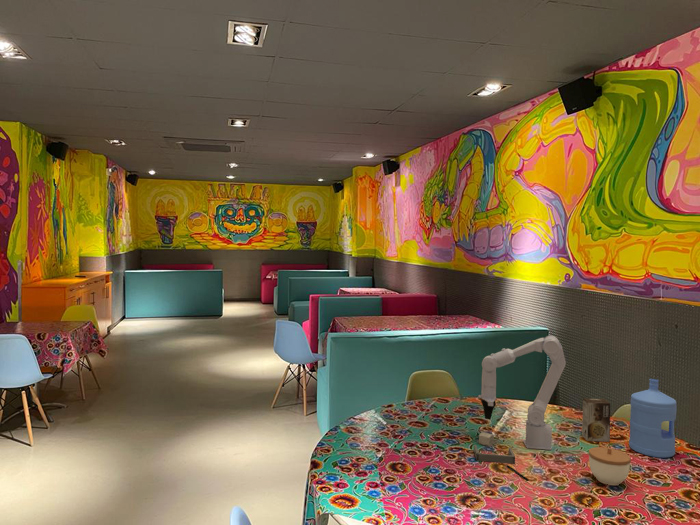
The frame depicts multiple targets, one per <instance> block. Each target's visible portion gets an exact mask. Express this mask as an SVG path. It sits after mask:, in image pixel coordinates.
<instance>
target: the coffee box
mask: <svg viewBox="0 0 700 525" xmlns="http://www.w3.org/2000/svg"><path fill="white" fill-rule="evenodd" d="M581 426H582V427H581V436H582V437H583V438H584V439H585V441H587V442H603V443H604V442H605V443H606V442H608V443H609V442H610V440H611V402H609V401H608V400H607V399H605V398H587V397H586V398H585V397H584V398H582V425H581Z"/></svg>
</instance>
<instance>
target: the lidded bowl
mask: <svg viewBox="0 0 700 525" xmlns="http://www.w3.org/2000/svg"><path fill="white" fill-rule="evenodd" d="M631 461H632V460H631V457H630V455H629V454H627V453H626V452H624V451H621V450H620V449H619V450H618V449H615V448H611V447H603V446H596V447H591V448H590V449H589V450H588V463H589V469H590V471H591V473H592V474H593V476H594V477H596V480H597V481H598V482H599V481H600V482H599V483H602V484H604V485H607V484H608V485H609V486H619V484H620V485H621V483H622V482H624V481H625V480H626V479H627V478H628V476H629V473H630V469H631ZM608 485H607V486H608Z"/></svg>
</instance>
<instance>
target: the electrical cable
mask: <svg viewBox="0 0 700 525" xmlns="http://www.w3.org/2000/svg"><path fill="white" fill-rule="evenodd" d="M505 467H506V468H507V469H509V470H510V471H512V472H513V471H514V472H515V474H516V475H517V476H518V475H519V476H518V477H520V478H522V479H523V480H525V481H526V482H529V478H528V477H526V476H524V474H522V473H520V472H519V471H518V470H517V469H515V468H513V467H512V466H510V465H509V464H506V465H505ZM514 472H513V473H514Z"/></svg>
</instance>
